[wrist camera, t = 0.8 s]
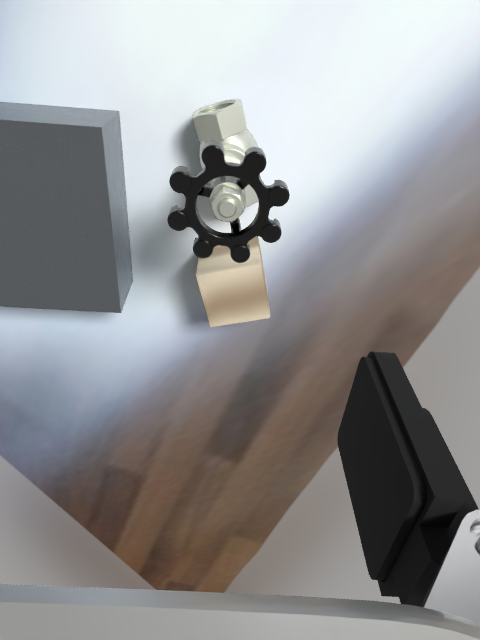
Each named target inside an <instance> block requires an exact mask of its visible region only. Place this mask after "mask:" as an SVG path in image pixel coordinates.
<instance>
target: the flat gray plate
mask: <svg viewBox="0 0 480 640" xmlns="http://www.w3.org/2000/svg"><path fill="white" fill-rule="evenodd" d="M132 282H133V277H132V265H131V252H130V240H129V227H128V215H127V203H126V190H125V178H124V166H123V153H122V141H121V128H120V116H119V111H110V110H97V109H84V108H71V107H58V106H45V105H32V104H19V103H6V102H0V306H4V307H22V308H41V309H59V310H78V311H96V312H114V313H121V312H122V309H123V306H124V303H125V301H126V298H127V295H128V293H129V290H130V287H131V285H132Z"/></svg>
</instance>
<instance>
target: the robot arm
mask: <svg viewBox="0 0 480 640" xmlns="http://www.w3.org/2000/svg"><path fill="white" fill-rule="evenodd" d="M338 447H339V451H340V456H341V460H342V464H343V468H344V472H345V477H346V481H347V485H348V489H349V493H350V497H351V502H352V506H353V510H354V514H355V518H356V522H357V526H358V531H359V535H360V539H361V543H362V547H363V551H364V556H365V560H366V564H367V568H368V572H369V575H370V577H371V579H373V580H378V583H379V587H380V591H381V595H382V596H392V597H399V598H400V602H401V604H396V603H387V602H378V601H366V600H349V599H334V598H333V599H332V598H317V597H301V596H281V595H258V594H233V593H212V592H190V591H166V590H140V589H115V588H88V587H62V586H61V587H60V586H36V585H8V584H0V640H480V510H479V509H478V507H477V505H476V503H475V501H474V499H473V497H472V495H471V493H470V491H469V489H468V487H467V485H466V483H465V481H464V479H463V477H462V475H461V473H460V471H459V469H458V467H457V465H456V463H455V461H454V459H453V457H452V455H451V453H450V451H449V449H448V447H447V445H446V443H445V441H444V439H443V437H442V435H441V433H440V431H439V429H438V427H437V425H436V423H435V421H434V419H433V417H432V415H431V414H430V412H429V411H428V410H426V409H425V408H422V407H421V405H420V403H419V401H418V399H417V397H416V395H415V393H414V390H413V388H412V386H411V384H410V382H409V380H408V378H407V376H406V374H405V372H404V370H403V368H402V366H401V364H400V362H399V359H398V357H397V356H396V354H394V353H386V352H370V353H369V354H368V356H367V357H362V358H361V359H360V362H359V365H358V368H357V372H356V375H355V378H354V382H353V385H352V388H351V392H350V395H349V398H348V402H347V405H346V408H345V412H344V415H343V418H342V421H341V425H340V428H339V432H338Z"/></svg>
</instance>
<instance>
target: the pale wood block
mask: <svg viewBox="0 0 480 640" xmlns="http://www.w3.org/2000/svg"><path fill="white" fill-rule="evenodd" d="M248 244H249V245H250V257H249V259H248V260H247V261H246V262H243V263H237V262H235V261H233V260H232V258H231V256H230V249H229V248H228V247H226V246H220V245H218V246H215V247H214V249H213V253H212V254H211V256H210V257H208V258H199V257H198V264H197V271H196V278H197V282H198V285H199V289H200V292H201V295H202V299H203V302H204V306H205V309H206V313H207V316H208V320H209V323H210V327H215V326H221V325H228V324H234V323H240V322H247V321H253V320H259V319H266V318H270V310H269V301H268V291H267V284H266V278H265V273H264V267H263V262H262V256H261V251H260V245H259V240H258V236H257V237H254V238H253V239H251V240H250V241H249V242H248Z"/></svg>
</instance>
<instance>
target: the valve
mask: <svg viewBox="0 0 480 640" xmlns="http://www.w3.org/2000/svg"><path fill="white" fill-rule="evenodd" d="M193 122H194V125H195V129H196V132H197V136H198V139H199V142H201V145H200V162H201V166H202V168H203V170H202V171H201V172H199V173H198V174H197V175H191V174H190V173H189V172H188V171H187V167H184V166H179V167H176V168H175V169H174V170H173V172H172V174H171V177H170V186H171V188H172V189H173V190H174V191H175V192H177V193H183V194H184V195H185V197H186V203H185V206H184V207H183V208H178V206H177V205H176V206H174V207H172V208H171V210H170V212H169V216H168V224H169V226H170V227H171V228H172V229H174V230H176V231H181V230H184V229H185V228H186V227H191V228H193V229H194V230H195V232H196V233H197V234H198V236H199V237H198V238H195V240H194V245H193V252H194V254H195V255H196V256H197V257H199V258H208V257H210V256H211V254H212V253H213V249H214V247H215V246H218V245H220V246H226V247H228V248H229V249H230V256H231V258H232V260H233V261H235V262H237V263H243V262H246V261H247V260H248V259H249V257H250V245H249V244H248V242H249V241H250V240H251V239H253V238H254V237H256V236H260V237H262V239H263V240H264V241H266V242H269V243H273V242H276V241H277V240H278V239H279V238H280V236H281V227H280V223H279V221H278V220H277V219H274V221H272V220H270V219H269V218H268V215H269V210H270V208H271V207H273V206H277V207H278V206H283V205H284V204H286V203H287V201H288V199H289V191H288V187H287V185H286V183H285V182H283V181H281V180H275V181H274V182H275V183H274V184H272V185H270V186H266V185H264V183H263V181H262V180H261V177H260V173H261V172H262V171H263V170H264V169H265V167H266V157H265V153H264V152H263V150H262V149H260V148H259V147H258V145H257V142H256V140H255V138H254V136H253V135H252V133H251V132H250V131H249V130H248V129H247V124H246V119H245V114H244V110H243V106H242V101H241V99H230V100H225V101H221V102H217V103H214V104H211V105H208V106H205V107H203V108H200V109H198V110H197V111H195V112H194V113H193ZM208 182H209V184H210V185H211V186H210V185H206V183H208ZM197 196H206V197H209V198H210V206H211V209H212V211H213V212H214V215H215V218H216V219H219V220H222V221H226V222H230V225H231V233H221V232H218V231H215V230H213V229H211V228H210V227H208V226H207V225H206V224H205V223H204V222H203V221H202V219H201V218H200V216H199V214H198V211H197V203H196V199H197ZM258 201H259V208H258V212H257V215H256V217H255V219H254V220H253V222H252V223H251V224H250V225H249V226H248V227H246V228H245V229H243V230H241V225H240V220H239V216H240V215H241V214H242V213H243V212H244V208H245V207H248V206H250V205H252V204H254V203H256V202H258Z"/></svg>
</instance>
